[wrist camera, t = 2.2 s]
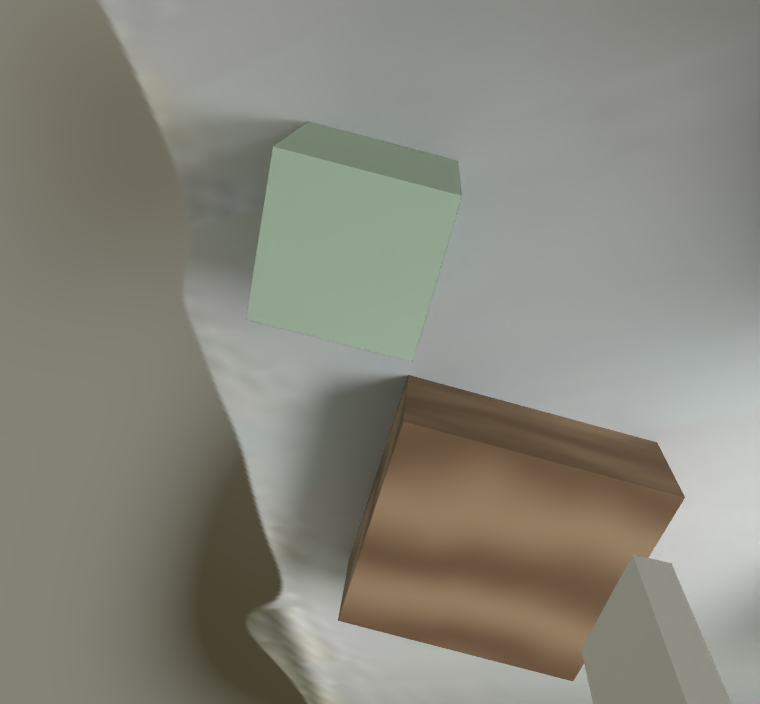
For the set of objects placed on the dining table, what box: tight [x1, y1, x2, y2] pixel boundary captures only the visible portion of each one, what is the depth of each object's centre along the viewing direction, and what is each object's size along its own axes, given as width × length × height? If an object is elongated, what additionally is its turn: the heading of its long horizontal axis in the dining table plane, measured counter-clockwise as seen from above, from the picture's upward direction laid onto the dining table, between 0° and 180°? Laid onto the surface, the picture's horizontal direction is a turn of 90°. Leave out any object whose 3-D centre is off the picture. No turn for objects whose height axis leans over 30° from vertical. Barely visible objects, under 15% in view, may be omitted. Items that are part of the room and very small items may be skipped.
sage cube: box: [246, 122, 462, 362], centre depth 28 cm, size 7×7×7 cm
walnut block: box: [338, 375, 685, 681], centre depth 36 cm, size 14×14×5 cm
